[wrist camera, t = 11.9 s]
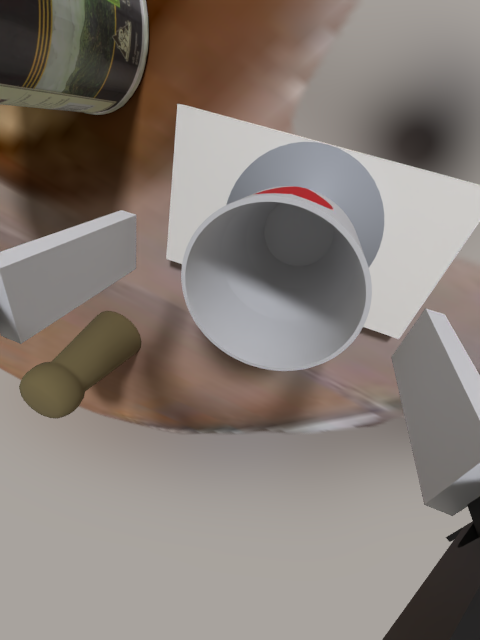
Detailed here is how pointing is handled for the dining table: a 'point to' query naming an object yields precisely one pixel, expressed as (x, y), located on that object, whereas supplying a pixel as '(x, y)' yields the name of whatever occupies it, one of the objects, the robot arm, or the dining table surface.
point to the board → (339, 186)
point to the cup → (278, 279)
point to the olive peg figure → (80, 365)
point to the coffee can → (72, 53)
